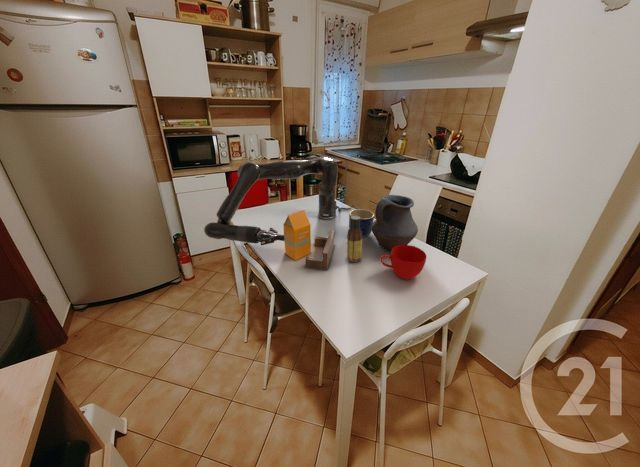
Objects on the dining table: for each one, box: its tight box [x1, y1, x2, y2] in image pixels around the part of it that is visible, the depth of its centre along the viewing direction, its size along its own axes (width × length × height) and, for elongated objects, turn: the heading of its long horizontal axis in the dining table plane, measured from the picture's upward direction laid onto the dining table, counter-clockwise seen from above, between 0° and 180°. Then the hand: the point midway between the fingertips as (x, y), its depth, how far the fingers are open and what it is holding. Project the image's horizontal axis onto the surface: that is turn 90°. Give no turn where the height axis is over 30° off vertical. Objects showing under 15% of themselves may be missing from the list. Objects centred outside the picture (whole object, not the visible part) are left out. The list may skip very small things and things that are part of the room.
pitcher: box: [371, 194, 419, 252], centre depth 118 cm, size 21×22×25 cm
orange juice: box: [283, 209, 312, 261], centre depth 114 cm, size 8×9×20 cm
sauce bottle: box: [346, 216, 363, 263], centre depth 110 cm, size 7×6×20 cm
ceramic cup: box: [379, 244, 428, 280], centre depth 103 cm, size 13×17×10 cm
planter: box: [348, 208, 375, 238], centre depth 133 cm, size 12×12×11 cm
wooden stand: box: [305, 230, 336, 271], centre depth 115 cm, size 9×20×8 cm, turn 169°
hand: (285, 238), depth 116 cm, fingers closed
